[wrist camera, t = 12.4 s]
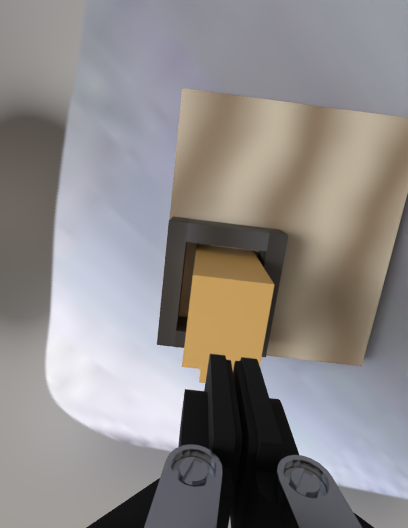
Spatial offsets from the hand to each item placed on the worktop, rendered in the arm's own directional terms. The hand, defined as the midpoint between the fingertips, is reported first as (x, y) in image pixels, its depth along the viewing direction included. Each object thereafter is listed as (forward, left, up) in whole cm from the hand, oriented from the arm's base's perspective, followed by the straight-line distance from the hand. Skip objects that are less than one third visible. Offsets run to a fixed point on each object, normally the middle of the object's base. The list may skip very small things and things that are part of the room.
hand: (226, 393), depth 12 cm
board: (-4, -3, -15) cm, 16 cm away
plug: (0, 0, -13) cm, 13 cm away
